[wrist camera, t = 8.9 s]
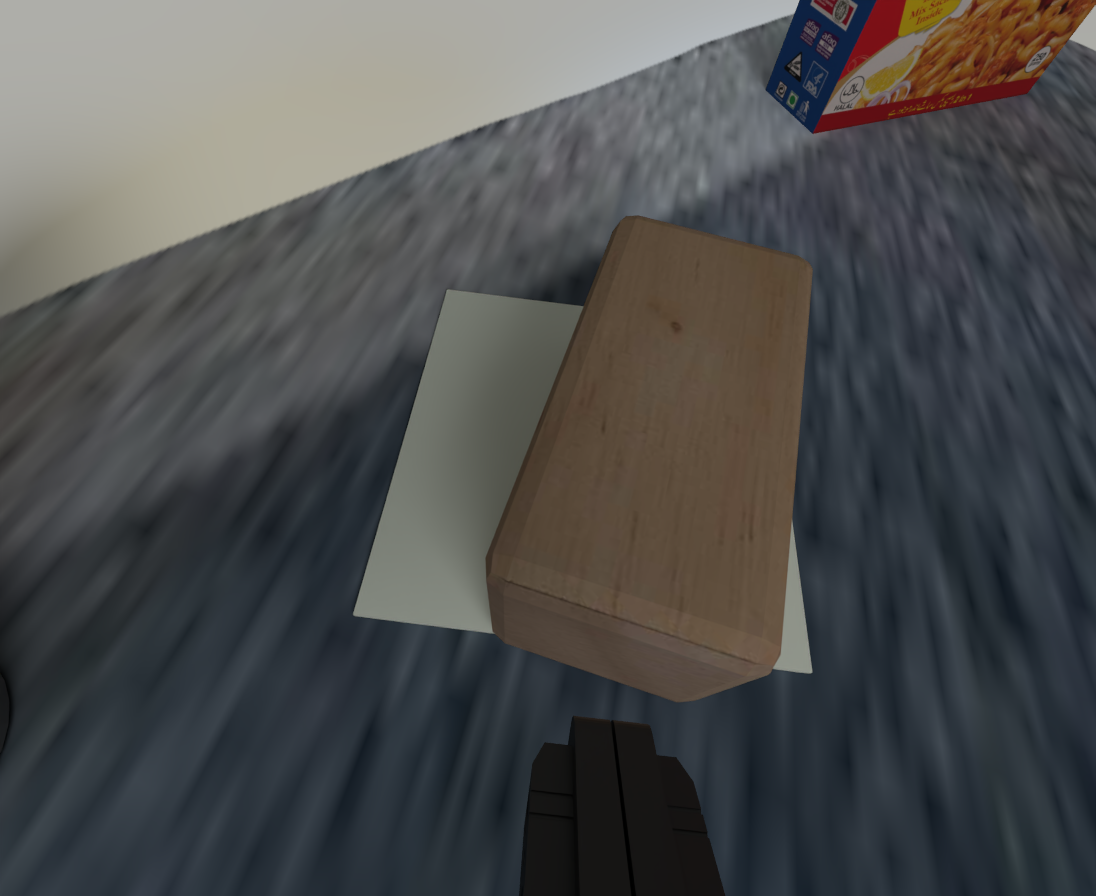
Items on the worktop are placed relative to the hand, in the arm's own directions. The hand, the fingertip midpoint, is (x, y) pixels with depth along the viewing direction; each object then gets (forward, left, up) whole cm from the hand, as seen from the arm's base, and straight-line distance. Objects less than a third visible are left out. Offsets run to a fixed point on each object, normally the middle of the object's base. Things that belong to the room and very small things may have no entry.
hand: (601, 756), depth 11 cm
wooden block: (+1, +3, -9) cm, 10 cm away
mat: (+1, +16, -15) cm, 22 cm away
